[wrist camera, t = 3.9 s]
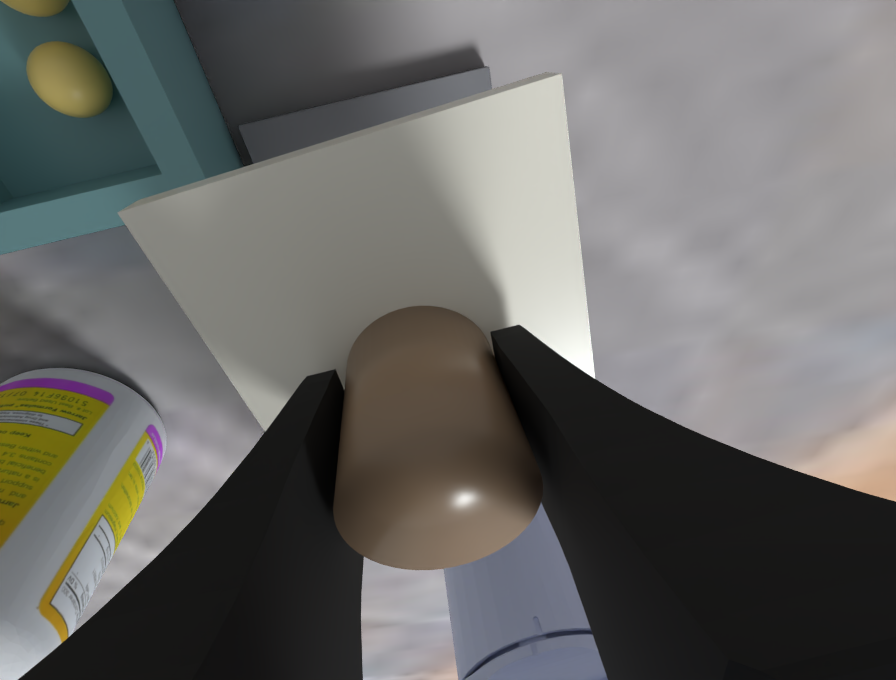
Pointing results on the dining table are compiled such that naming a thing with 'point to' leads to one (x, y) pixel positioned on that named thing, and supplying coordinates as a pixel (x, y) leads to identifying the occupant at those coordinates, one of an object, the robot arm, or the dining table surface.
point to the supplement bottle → (65, 499)
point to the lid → (395, 304)
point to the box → (98, 115)
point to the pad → (356, 114)
